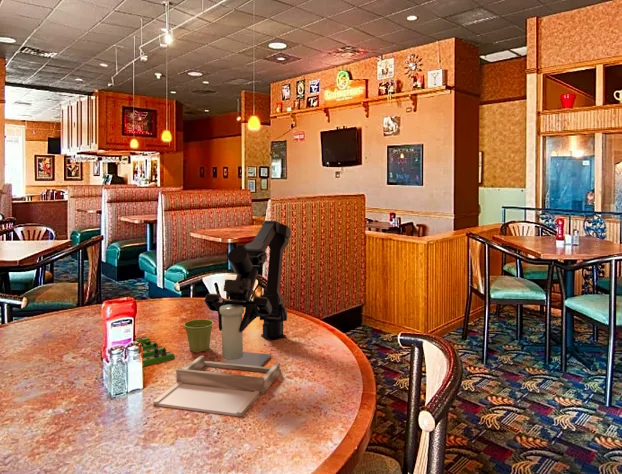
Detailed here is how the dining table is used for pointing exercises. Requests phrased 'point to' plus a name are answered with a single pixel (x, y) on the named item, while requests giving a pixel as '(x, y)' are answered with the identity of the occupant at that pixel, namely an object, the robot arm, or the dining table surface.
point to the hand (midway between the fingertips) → (230, 330)
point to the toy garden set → (152, 352)
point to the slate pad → (251, 359)
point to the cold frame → (227, 376)
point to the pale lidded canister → (232, 331)
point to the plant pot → (199, 334)
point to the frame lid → (207, 399)
